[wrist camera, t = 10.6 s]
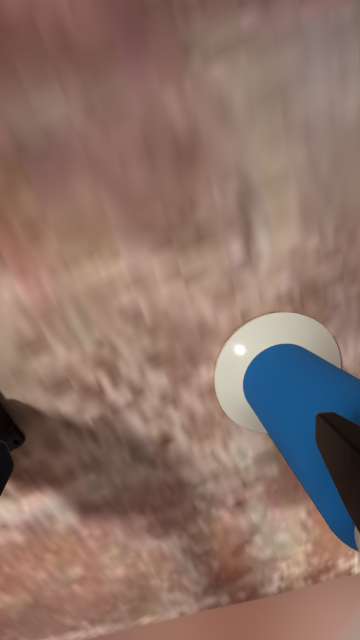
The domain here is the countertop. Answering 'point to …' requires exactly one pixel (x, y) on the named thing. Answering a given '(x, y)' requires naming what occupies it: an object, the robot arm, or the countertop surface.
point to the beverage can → (304, 419)
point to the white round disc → (251, 343)
